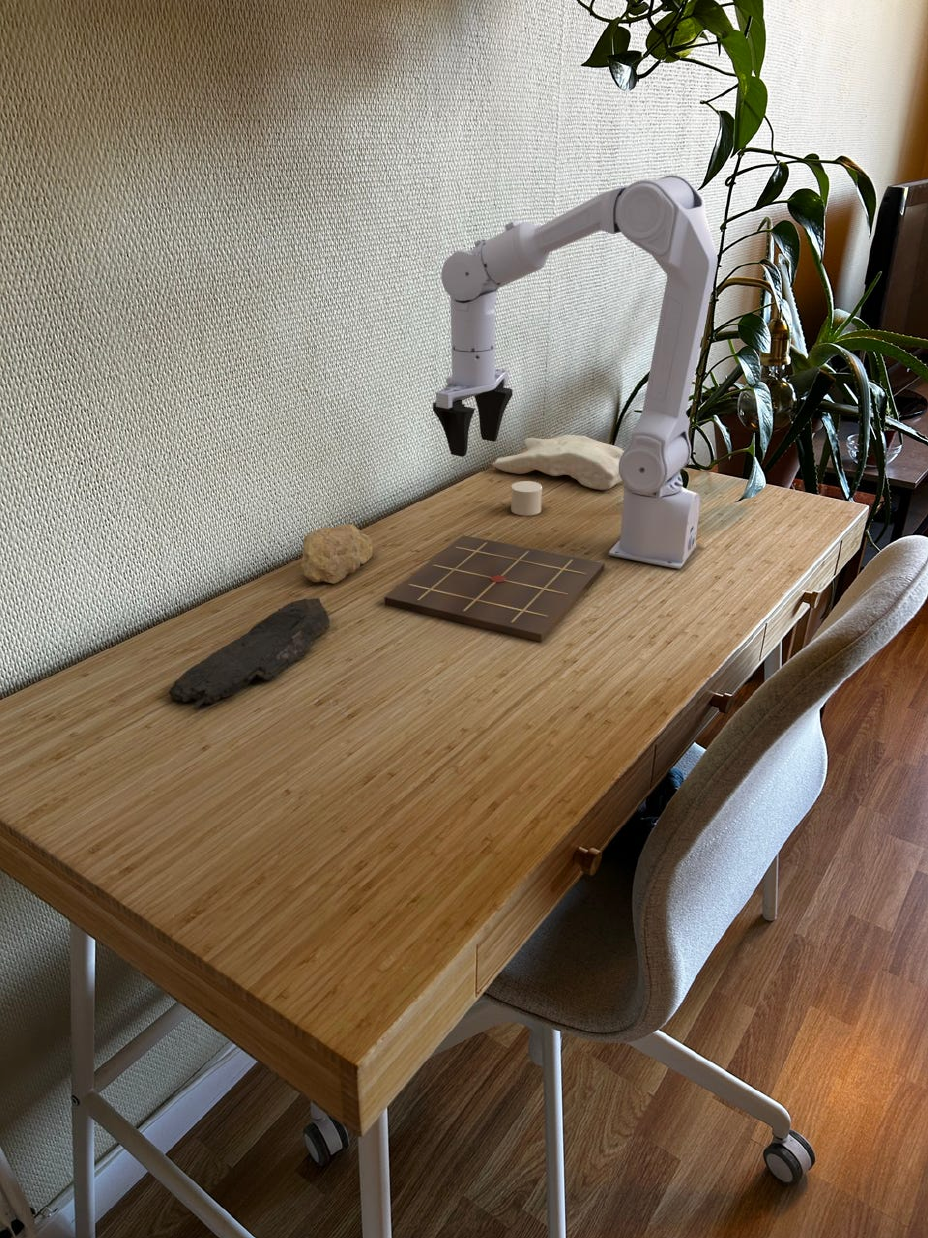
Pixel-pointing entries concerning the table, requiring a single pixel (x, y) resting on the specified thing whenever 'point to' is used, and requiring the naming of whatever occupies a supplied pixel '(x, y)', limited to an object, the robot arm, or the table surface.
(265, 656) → the wood
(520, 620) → the board
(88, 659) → the table surface
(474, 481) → the table surface
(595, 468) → the decorative stone
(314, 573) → the stone tool
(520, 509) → the cream short cylinder
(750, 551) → the table surface
